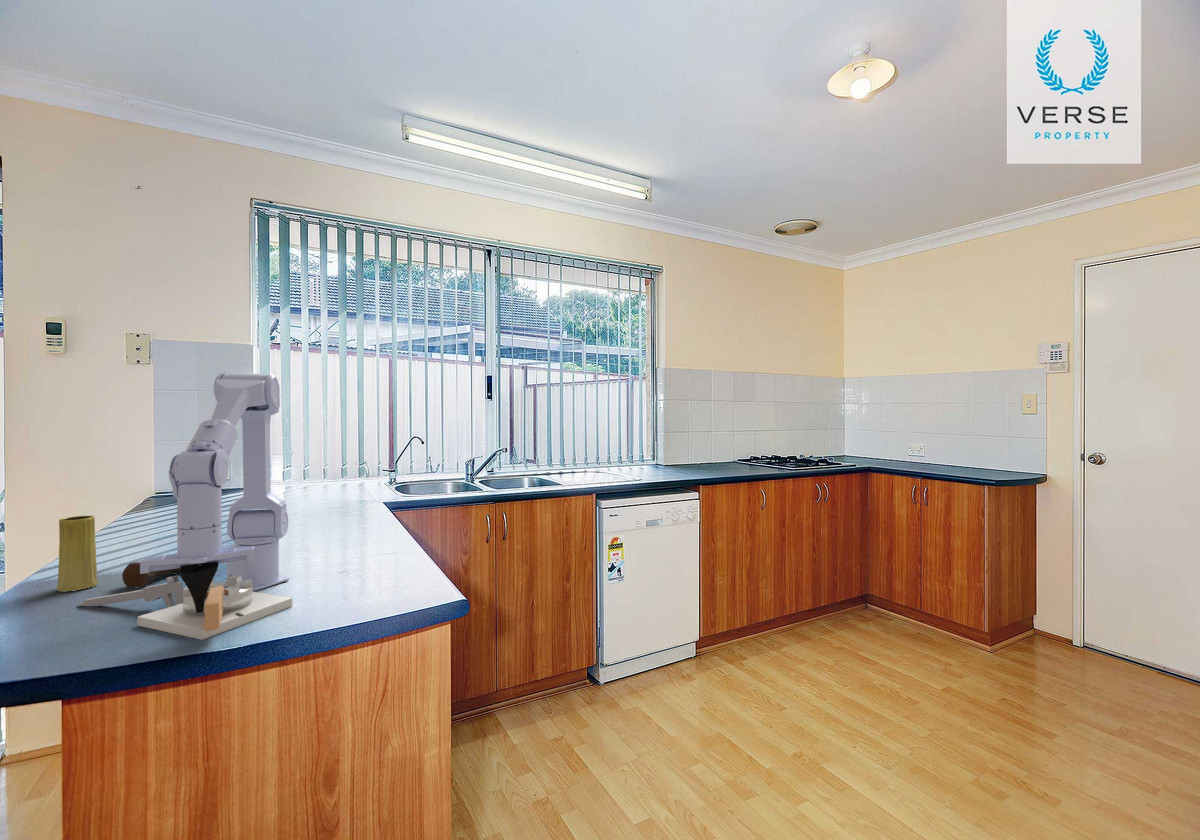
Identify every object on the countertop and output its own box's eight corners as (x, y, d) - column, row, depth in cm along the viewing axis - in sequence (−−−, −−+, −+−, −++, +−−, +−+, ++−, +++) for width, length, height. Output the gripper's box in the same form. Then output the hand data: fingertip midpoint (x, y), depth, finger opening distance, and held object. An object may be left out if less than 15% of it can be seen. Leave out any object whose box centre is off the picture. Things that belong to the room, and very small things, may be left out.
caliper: (185, 609, 99) (185, 575, 99) (180, 611, 98) (180, 577, 98) (82, 606, 101) (82, 572, 100) (76, 608, 99) (76, 573, 99)
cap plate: (137, 625, 91) (137, 615, 91) (232, 595, 106) (232, 586, 106) (201, 639, 85) (201, 629, 85) (292, 606, 100) (292, 596, 100)
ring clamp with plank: (186, 600, 97) (186, 578, 97) (253, 591, 102) (253, 570, 102) (170, 637, 81) (170, 610, 81) (250, 623, 86) (250, 598, 86)
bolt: (195, 575, 125) (137, 595, 110) (177, 564, 125) (116, 582, 110) (208, 554, 125) (151, 570, 110) (189, 542, 125) (131, 557, 110)
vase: (49, 590, 108) (49, 519, 108) (88, 581, 114) (87, 514, 114) (66, 594, 106) (66, 521, 106) (104, 585, 112) (104, 516, 112)
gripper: (136, 536, 79) (136, 628, 79) (253, 525, 87) (253, 609, 87) (144, 527, 85) (144, 613, 85) (253, 518, 93) (254, 597, 93)
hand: (200, 610), depth 87 cm, fingers closed
